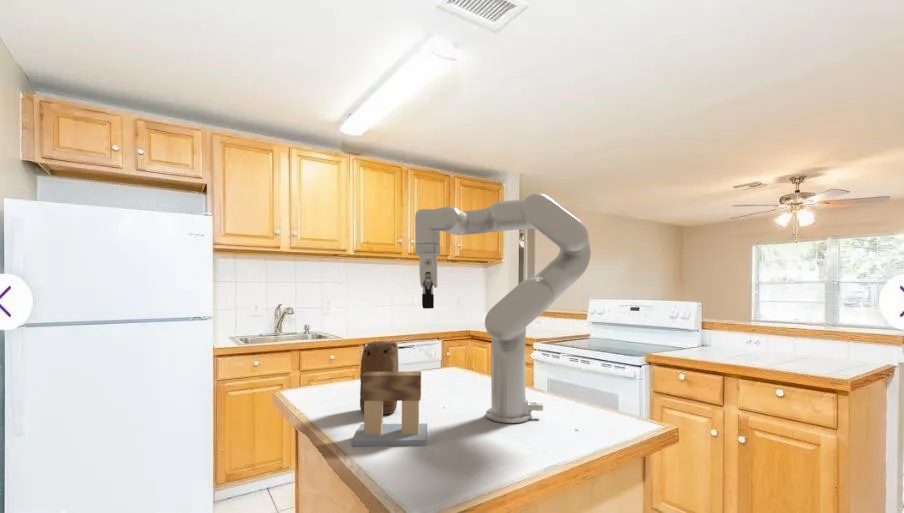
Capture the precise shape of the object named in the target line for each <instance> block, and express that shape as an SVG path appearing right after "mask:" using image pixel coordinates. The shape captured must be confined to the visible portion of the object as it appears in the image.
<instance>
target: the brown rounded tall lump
mask: <svg viewBox="0 0 904 513" xmlns="http://www.w3.org/2000/svg"><path fill="white" fill-rule="evenodd" d="M359 371H360V374H359V375H360V376H359V377H360V378H359V379H360V386H359V388H360V390H359V392H360V393H359V397H360V398H359V408H360V411H361V412H362V413H364V401H362V375H363V374H364V373H365V372H399V347H398V343H397V342H395V341H389V342H388V341H385V340H384V341H383V340H382V341H370V342H369V343H367V345H366V346H365V347H364V348H363V351H362V354H361V359H360V370H359ZM397 403H398V401H383V415H388V414H390V415H391V414H392V413H394V412H396V409H397V405H398V404H397Z"/></svg>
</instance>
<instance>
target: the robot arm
mask: <svg viewBox="0 0 904 513" xmlns="http://www.w3.org/2000/svg"><path fill="white" fill-rule="evenodd" d="M414 216H415V217H414V238H415V240H414V246H415V248H414V254H415V256H418V261H419V262H418V270H419V274H418V275H419V285H420V287H421V288H422V294H421V303H422V304H421V305H422V308H423V309H434V308H435V307H434V306H435V305H434V304H435V302H434V301H435V299H434V295H435V294H434V288H438V257H437V256H441V232H445V233H448V234H452V235H454V236H466V235H479V234H486V233H497V232H504V231H507V232H508V231H515V230H516V231H518V230H519V231H520V230H532V229H536V230H538V232H540V233H541V234H542V235H543V236H545V237H546V238H547V239H548V240H550V241H551V242H552V243H554V244H555V245H556V246H558V248H559V253H558V255H557V256H556V257H555V258H553V260H551V261H550V262H549V263H548V264H547V265H546V266H545V267H544V268H543V269H542V270H540V272H538V273H537V274H536V275H535V276H533V277H529V278H526V279H524V280H523V281H521V282H519V284H518V285H516V286H515V287H514V288H513V289H512V290H511V291H509V292H508V293H507V294H506V295H505V296H503V297H502V298H501V300H499V301H498V302H496V303H495V304H494V306H492V307H491V308H490V309H489V311H487V314H486V315H485V318H484V328H485V330H486V332H487V334H488V335H489V336H490V337H491V347H490V348H491V349H490V351H491V353H490V354H491V355H490V356H491V358H490V360H491V361H490V363H491V367H490V368H491V373H490V374H491V376H490V377H491V379H490V380H491V384H490V385H491V394H490V395H491V397H490V399H491V407H490V408H488V409H487V410H486V411H485V417H486V418H487V419H489V420H491V421H493V422H497V423H504V424H505V423H507V424H517V423H520V424H521V423H524V422H529V420H531V419H532V412H533V411H537V412H539V411H540V412H542V411H544V405H543V403H537V402H535V401H533V402H532V401H531V402H529V401H528V400H527V399H526V335H527V326H530V324H531V323H533V322H534V321H536V319H537V318H539V317H540V316H541V315H543V313H544V312H545V311H546V310H548V309H549V308H550V307H551V305H552V304H553V303H554V302H555V300H557V299H558V298H560V296H561V295H562V294H564V293H565V292H566V291H567V290H569V288H571V287H572V286H573V285H574V284H575V283H576V282H577V281H578V280H579V279H580V278H581V277H582V276H583V274H584V273H585V271H587V268H588V265H589V264H590V260H591V255H592V254H591V245H590V244H591V242H590V239H589V231H588V228H587V227H586V225H585V224H584V223H583V222H582V221H581V220H580V219H578V218H577V217H575V216H574V215H573V214H571V213H570V212H569V211H568V210H567V209H565V208H563V207H562V206H561V205H560V204H558V203H557V202H555V201H554V200H553V199H552V198H551V197H549V196H548V195H546V194H544V193H539V192H537V193H532V194H529V195H527V196H526V197H525V198H524V199H515V200H513V199H512V200H501V201H500V200H499V201H496V202H494V203H492V204H490V205H489V206H488V207H486V208H481V209H474V210H464V211H463V210H460V209H458V208H456V207H454V206H451V205H450V206H449V205H448V206H443V207H439V208H438V207H437V208H433V209H432V208H423V209H417V211H416V212H415V215H414Z"/></svg>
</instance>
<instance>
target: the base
mask: <svg viewBox="0 0 904 513" xmlns="http://www.w3.org/2000/svg"><path fill="white" fill-rule="evenodd" d="M383 418H384V414H383V401H364V412H363V423H361V424H360V425H359V427H358V429H357V431H356V433H355V435H354V437H353V439H352V441H351V445H352V447H386V446H387V447H390V446H391V447H393V446H396V447H397V446H398V447H399V446H401V447H402V446H403V447H404V446H407V447H408V446H427V442H426V441H427V440H428V438H427V437H428V423H426V422H425V423H420V401H401V423H384V420H383Z"/></svg>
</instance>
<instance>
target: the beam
mask: <svg viewBox="0 0 904 513" xmlns="http://www.w3.org/2000/svg"><path fill="white" fill-rule="evenodd" d="M421 397H422V371H398V372H365V373H364V374H363V375H362V401H397V402H398V401H399V402H402V401H419V402H420V401H421Z"/></svg>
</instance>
